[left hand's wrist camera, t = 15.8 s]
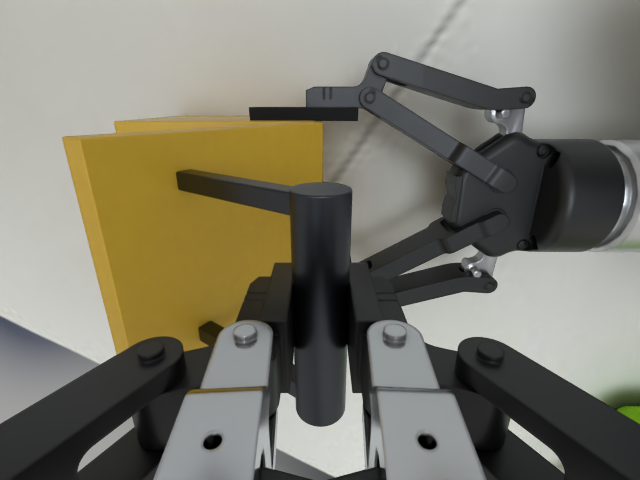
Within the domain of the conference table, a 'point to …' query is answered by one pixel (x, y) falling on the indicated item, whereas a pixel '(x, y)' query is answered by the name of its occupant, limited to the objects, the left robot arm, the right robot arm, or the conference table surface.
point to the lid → (220, 239)
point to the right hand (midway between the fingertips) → (258, 195)
